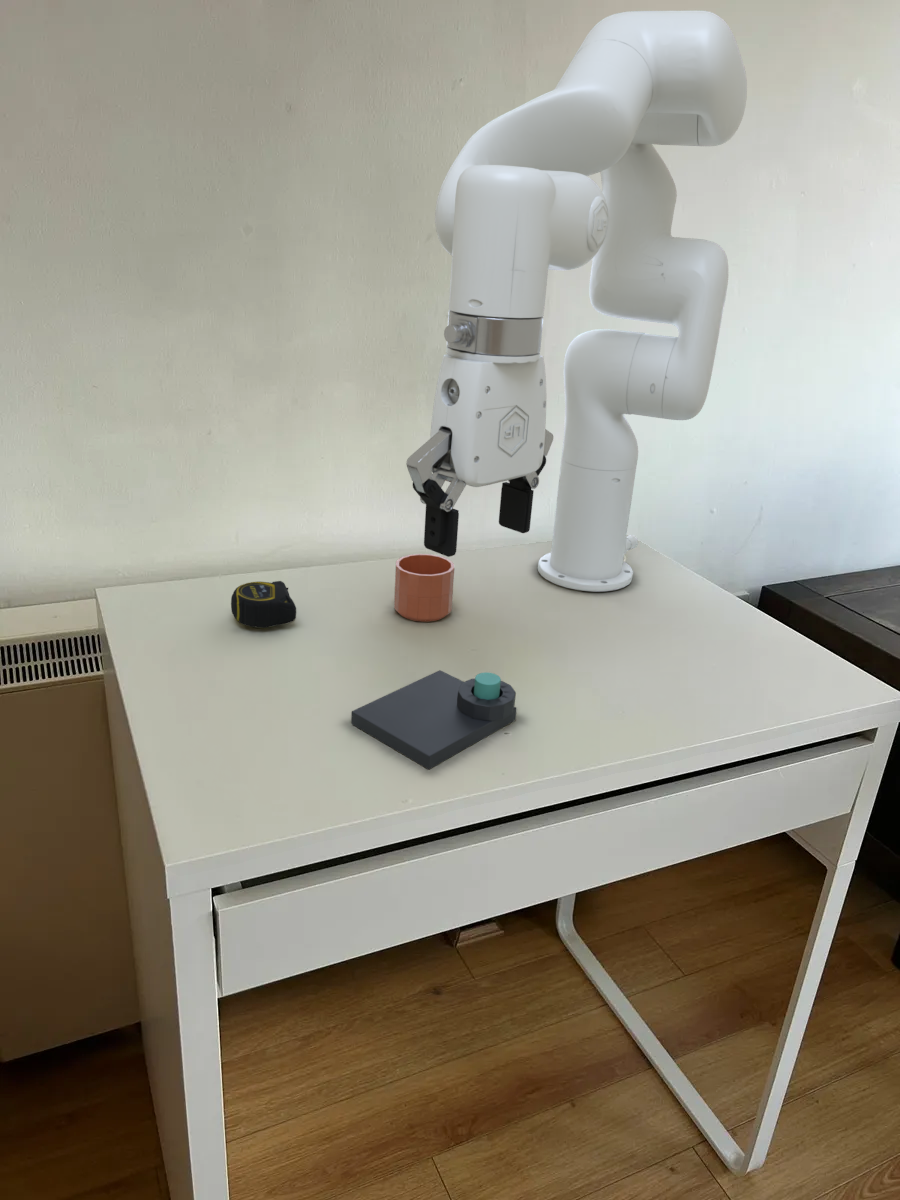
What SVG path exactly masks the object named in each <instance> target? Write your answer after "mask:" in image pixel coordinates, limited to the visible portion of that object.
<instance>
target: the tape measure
mask: <svg viewBox="0 0 900 1200" xmlns="http://www.w3.org/2000/svg"><path fill="white" fill-rule="evenodd" d="M230 609H231V610H230V611H231V614H232V616H233V617H234V619H235V620H236V621H237V622H238V623H240V624H242V625H244V626H247V627H250V628H258V629H260V628H261V629H265V628H271V627H276V626H281V625H285V624H290V623H293V622H294V621H295V620H296V618H297V607H296V603H295V602H294V600H293V599H292V597H291V595H290V592H289V587H287V586H286V583H285V582H284V581H282V580H278V581H277V580H275V581H271V582H268V581H250V582H246V583H243V584H240V585H239V586H238V587H236V588H235V589H234V590H233V593H232V595H231V597H230Z"/></svg>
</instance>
